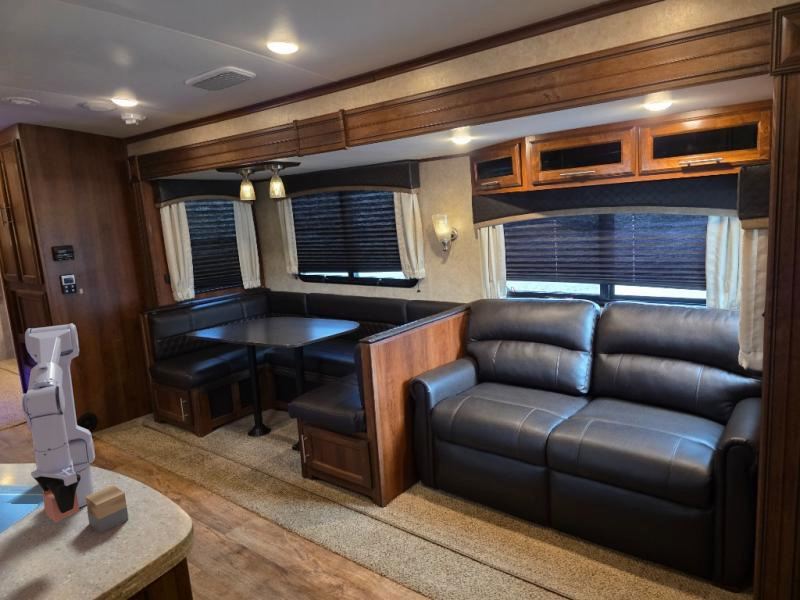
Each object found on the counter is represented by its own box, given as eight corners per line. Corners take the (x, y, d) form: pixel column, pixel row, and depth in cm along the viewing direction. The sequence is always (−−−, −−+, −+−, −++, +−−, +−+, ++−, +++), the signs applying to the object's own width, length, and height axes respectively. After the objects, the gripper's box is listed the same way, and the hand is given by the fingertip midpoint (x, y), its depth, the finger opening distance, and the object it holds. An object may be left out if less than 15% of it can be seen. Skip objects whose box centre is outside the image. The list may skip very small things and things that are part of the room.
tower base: (89, 524, 118) (87, 510, 118) (116, 512, 123) (114, 498, 122) (101, 533, 115) (99, 519, 114) (128, 520, 119) (126, 506, 119)
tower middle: (87, 510, 118) (85, 496, 117) (115, 498, 122) (113, 484, 122) (98, 519, 114) (96, 505, 113) (126, 506, 119) (124, 492, 118)
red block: (46, 515, 106) (42, 492, 106) (69, 504, 110) (66, 482, 109) (55, 522, 104) (51, 499, 103) (79, 511, 107) (75, 489, 106)
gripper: (14, 444, 105) (25, 505, 108) (43, 462, 97) (55, 528, 99) (53, 431, 111) (62, 489, 113) (83, 447, 102) (93, 510, 105)
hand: (61, 506), depth 107 cm, fingers closed on red block, 4 cm apart
